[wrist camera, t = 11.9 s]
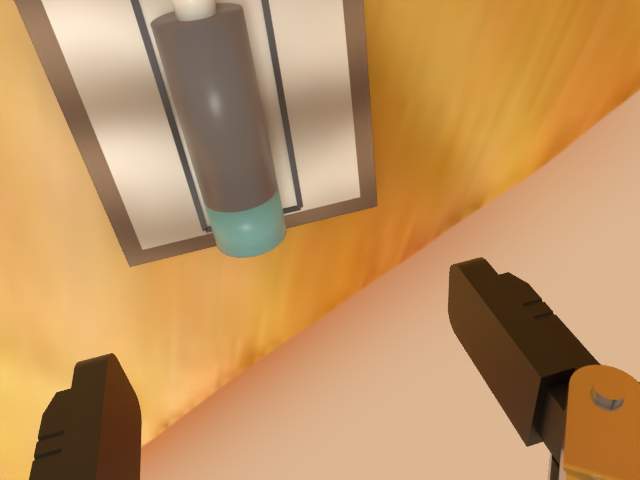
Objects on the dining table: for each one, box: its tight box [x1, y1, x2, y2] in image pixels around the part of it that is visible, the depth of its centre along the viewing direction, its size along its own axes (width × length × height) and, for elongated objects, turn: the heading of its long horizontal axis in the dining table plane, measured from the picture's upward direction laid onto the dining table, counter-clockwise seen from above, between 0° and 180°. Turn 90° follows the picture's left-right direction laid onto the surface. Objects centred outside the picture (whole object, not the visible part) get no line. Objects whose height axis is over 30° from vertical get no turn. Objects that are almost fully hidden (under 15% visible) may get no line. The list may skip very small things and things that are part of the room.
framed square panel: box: [14, 0, 377, 267], centre depth 25 cm, size 15×14×1 cm
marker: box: [150, 0, 287, 258], centre depth 23 cm, size 12×4×4 cm, turn 8°
